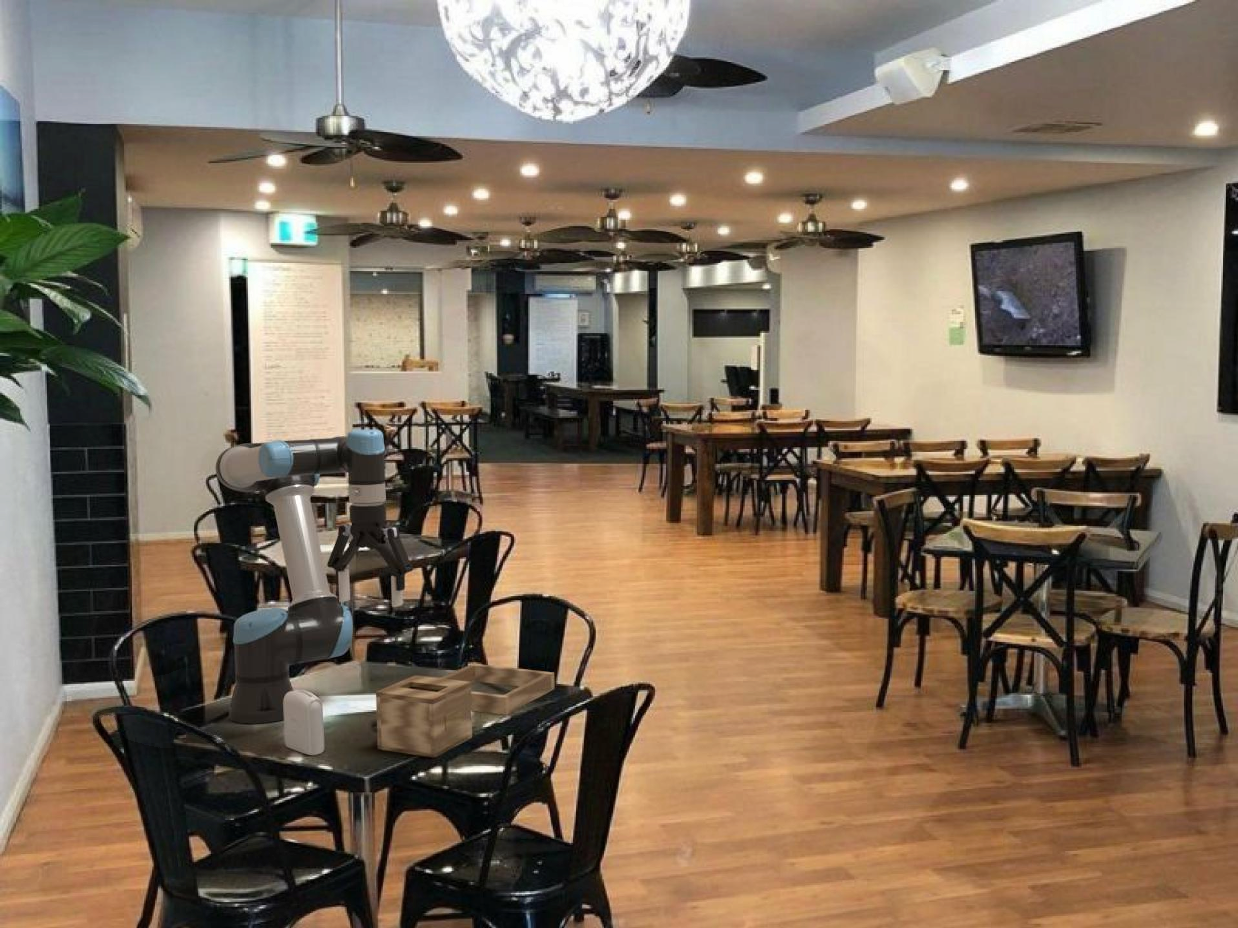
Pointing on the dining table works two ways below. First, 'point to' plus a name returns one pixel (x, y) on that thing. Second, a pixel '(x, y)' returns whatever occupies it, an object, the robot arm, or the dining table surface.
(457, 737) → the coin box
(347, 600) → the robot arm
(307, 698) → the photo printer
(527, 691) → the frame
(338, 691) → the dining table surface
